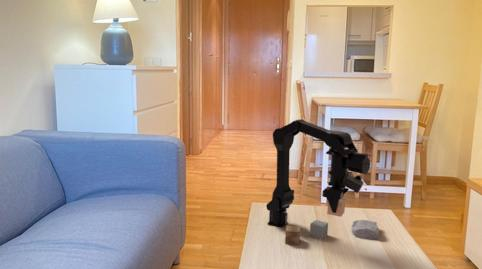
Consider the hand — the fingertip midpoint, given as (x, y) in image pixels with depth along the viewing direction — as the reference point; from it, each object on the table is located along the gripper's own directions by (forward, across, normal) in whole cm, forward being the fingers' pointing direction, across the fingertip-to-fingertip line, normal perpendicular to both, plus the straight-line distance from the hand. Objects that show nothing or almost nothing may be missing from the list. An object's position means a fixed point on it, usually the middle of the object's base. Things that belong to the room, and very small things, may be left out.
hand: (335, 210), depth 147 cm
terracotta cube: (+1, 0, 0) cm, 1 cm away
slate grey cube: (+13, +5, +7) cm, 16 cm away
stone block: (+14, +17, -8) cm, 23 cm away
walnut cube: (+13, -5, +14) cm, 20 cm away
